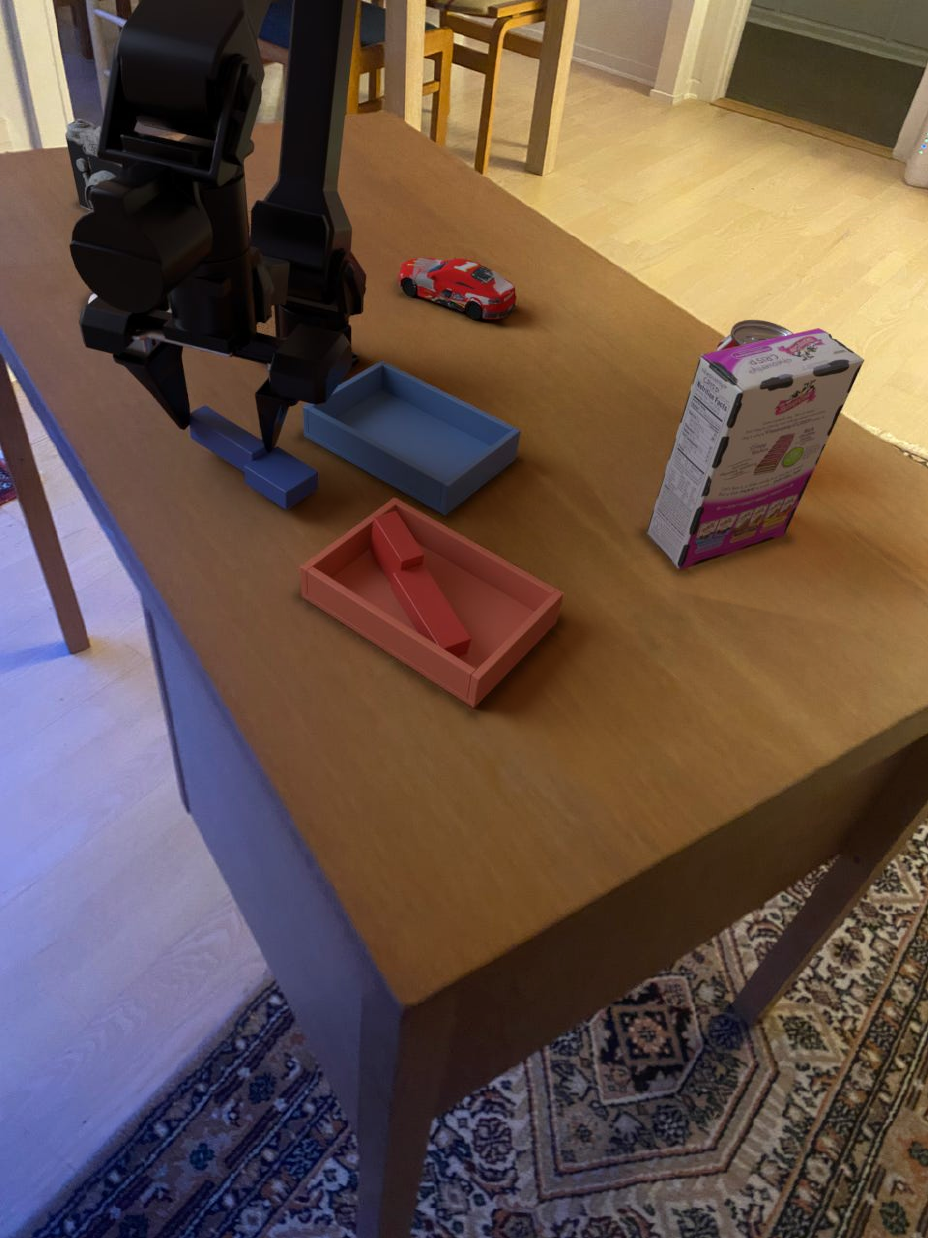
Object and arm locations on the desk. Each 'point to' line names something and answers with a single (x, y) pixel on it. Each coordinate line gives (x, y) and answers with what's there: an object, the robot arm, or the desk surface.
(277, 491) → the blue stepped bar
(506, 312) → the race car
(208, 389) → the desk surface
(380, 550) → the stepped red stick
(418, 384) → the blue bin
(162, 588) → the desk surface
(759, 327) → the soda can
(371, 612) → the terracotta bin
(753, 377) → the candy bar box
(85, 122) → the camera
